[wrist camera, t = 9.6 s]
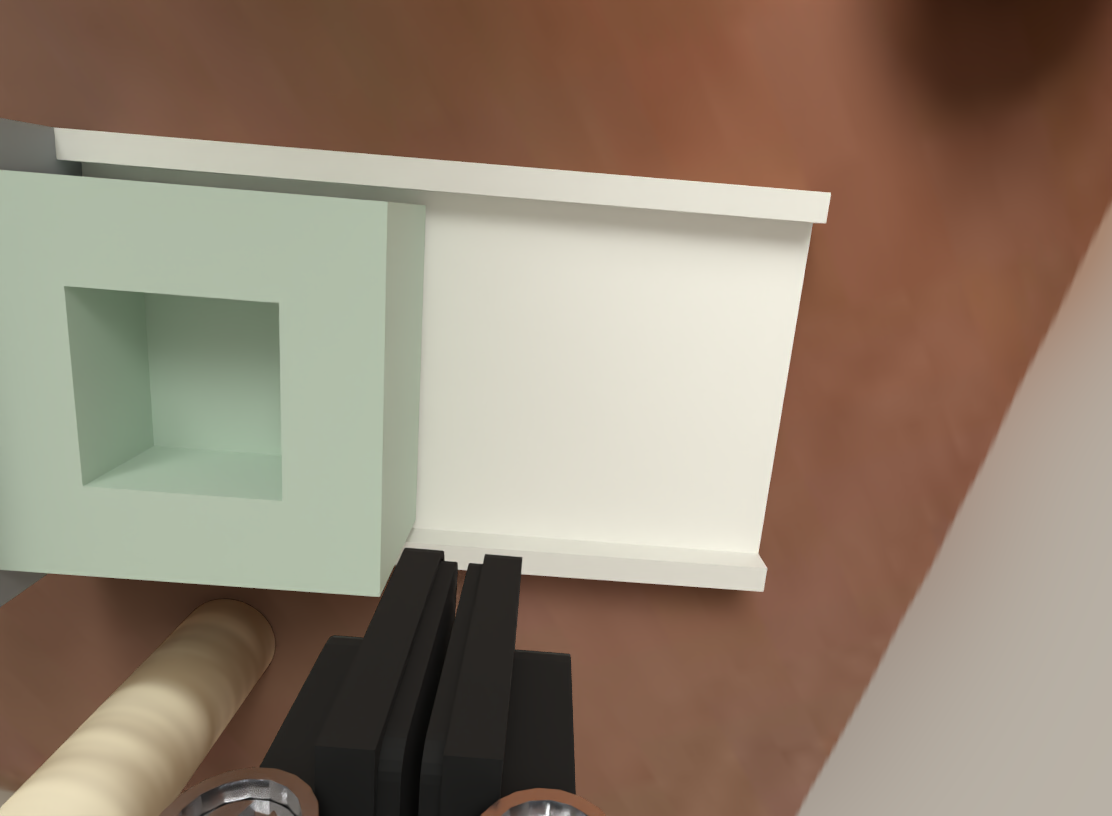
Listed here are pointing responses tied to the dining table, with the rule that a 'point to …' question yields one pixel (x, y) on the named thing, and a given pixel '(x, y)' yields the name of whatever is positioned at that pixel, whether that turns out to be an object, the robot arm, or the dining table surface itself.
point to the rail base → (555, 347)
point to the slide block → (207, 383)
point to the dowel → (155, 721)
